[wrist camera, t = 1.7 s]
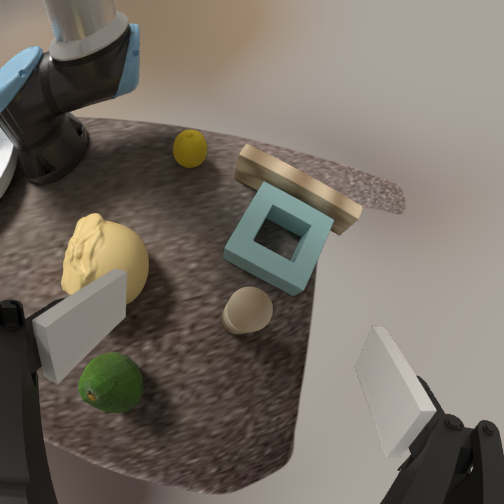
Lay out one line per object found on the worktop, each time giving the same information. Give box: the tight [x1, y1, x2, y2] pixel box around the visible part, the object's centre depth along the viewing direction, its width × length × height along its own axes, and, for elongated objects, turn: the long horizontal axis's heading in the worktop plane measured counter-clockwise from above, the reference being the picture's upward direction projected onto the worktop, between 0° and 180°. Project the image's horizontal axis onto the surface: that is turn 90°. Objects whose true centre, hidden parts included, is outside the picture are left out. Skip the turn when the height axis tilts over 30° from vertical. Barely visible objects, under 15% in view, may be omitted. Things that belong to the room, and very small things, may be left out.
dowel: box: [221, 287, 273, 334], centre depth 34 cm, size 4×4×14 cm
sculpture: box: [61, 213, 149, 304], centre depth 35 cm, size 12×12×11 cm
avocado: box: [78, 352, 144, 413], centre depth 30 cm, size 8×8×12 cm
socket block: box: [223, 182, 334, 296], centre depth 42 cm, size 12×12×5 cm
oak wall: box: [234, 144, 363, 235], centre depth 44 cm, size 20×2×7 cm, turn 63°
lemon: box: [173, 130, 207, 168], centre depth 43 cm, size 6×6×8 cm
